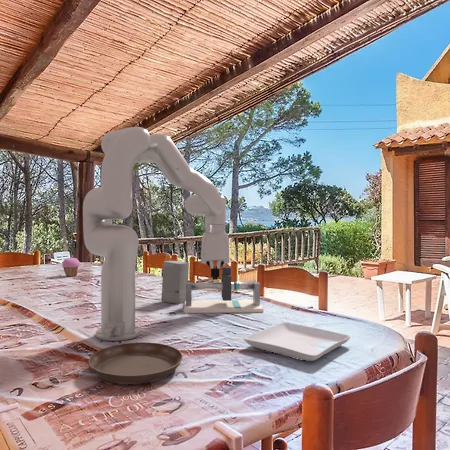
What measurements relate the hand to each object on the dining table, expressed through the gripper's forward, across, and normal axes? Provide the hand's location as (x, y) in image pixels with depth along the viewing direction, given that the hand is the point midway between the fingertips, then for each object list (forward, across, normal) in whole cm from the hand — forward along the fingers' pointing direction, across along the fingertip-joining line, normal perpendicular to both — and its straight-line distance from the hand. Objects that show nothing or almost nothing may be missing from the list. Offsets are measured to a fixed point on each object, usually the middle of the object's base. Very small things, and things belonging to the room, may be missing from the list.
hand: (215, 278), depth 150 cm
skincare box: (+11, -15, +11) cm, 22 cm away
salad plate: (+11, +20, -44) cm, 50 cm away
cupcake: (+11, -74, +74) cm, 105 cm away
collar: (+7, +4, 0) cm, 8 cm away
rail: (+9, +3, 0) cm, 10 cm away
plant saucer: (+11, -20, -57) cm, 62 cm away
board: (+11, +3, 0) cm, 11 cm away
